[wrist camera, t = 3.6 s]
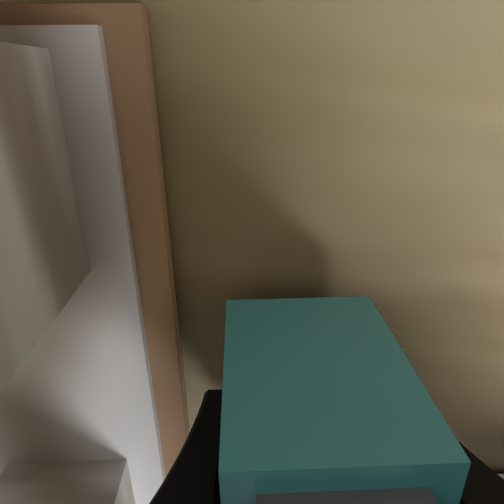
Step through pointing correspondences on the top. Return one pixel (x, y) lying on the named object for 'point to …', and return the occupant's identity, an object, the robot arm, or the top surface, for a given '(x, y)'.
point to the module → (328, 410)
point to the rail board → (84, 261)
